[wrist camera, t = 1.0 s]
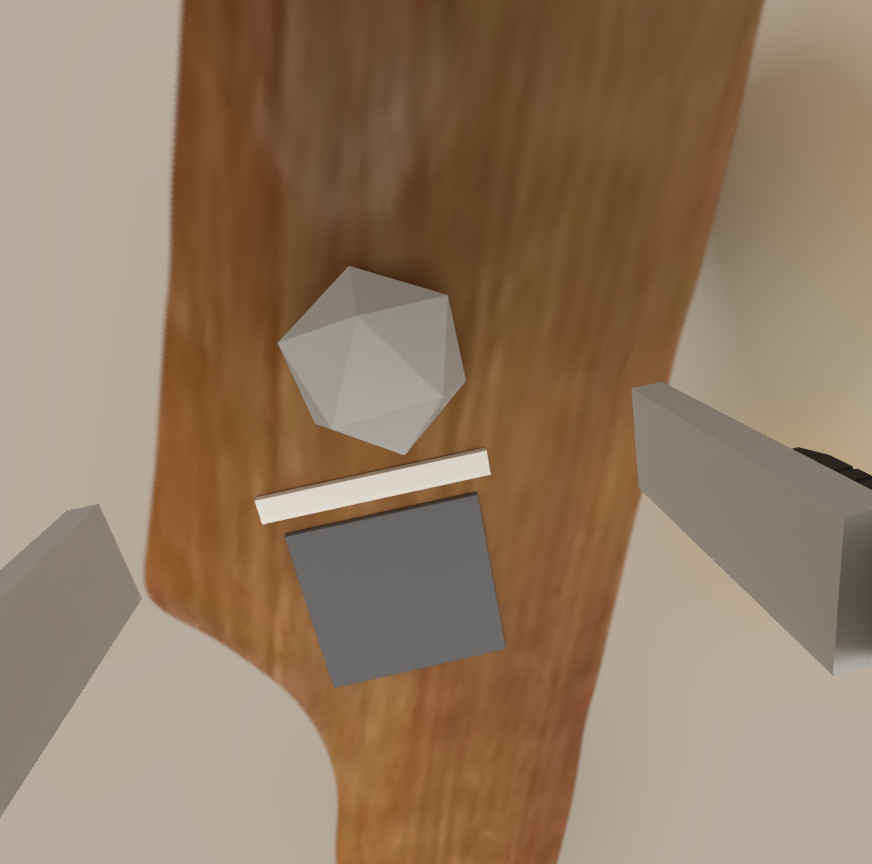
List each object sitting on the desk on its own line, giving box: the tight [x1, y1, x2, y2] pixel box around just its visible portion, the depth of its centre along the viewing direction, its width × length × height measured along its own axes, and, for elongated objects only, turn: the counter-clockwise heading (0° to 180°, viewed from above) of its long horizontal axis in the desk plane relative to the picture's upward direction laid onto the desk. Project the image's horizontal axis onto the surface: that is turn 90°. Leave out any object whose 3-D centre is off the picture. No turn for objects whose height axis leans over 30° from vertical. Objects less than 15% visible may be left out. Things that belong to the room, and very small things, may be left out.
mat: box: [255, 448, 506, 688], centre depth 36 cm, size 14×15×1 cm
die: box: [278, 266, 466, 455], centre depth 28 cm, size 8×9×10 cm
